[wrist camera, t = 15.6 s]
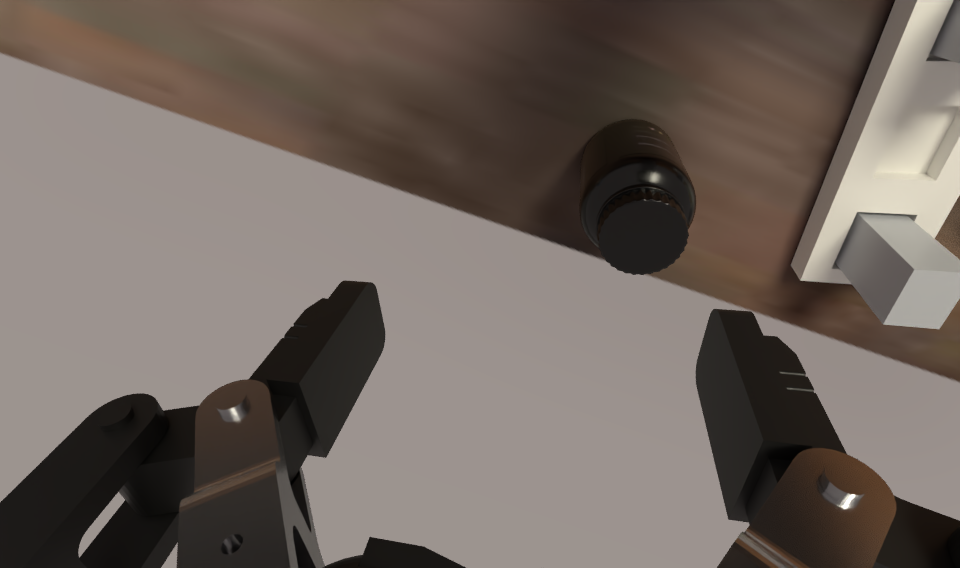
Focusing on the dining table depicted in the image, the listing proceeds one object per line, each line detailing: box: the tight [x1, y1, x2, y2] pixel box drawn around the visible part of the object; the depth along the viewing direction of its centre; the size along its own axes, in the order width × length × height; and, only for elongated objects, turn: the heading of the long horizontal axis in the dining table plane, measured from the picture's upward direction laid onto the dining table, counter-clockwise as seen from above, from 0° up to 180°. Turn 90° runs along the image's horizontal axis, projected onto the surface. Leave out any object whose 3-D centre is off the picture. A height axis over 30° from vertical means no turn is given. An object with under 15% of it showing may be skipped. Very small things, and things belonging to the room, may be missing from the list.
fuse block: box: [791, 0, 960, 284], centre depth 30 cm, size 21×7×2 cm, turn 2°
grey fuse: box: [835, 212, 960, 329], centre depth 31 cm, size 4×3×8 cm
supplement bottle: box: [580, 119, 696, 275], centre depth 31 cm, size 7×7×12 cm
